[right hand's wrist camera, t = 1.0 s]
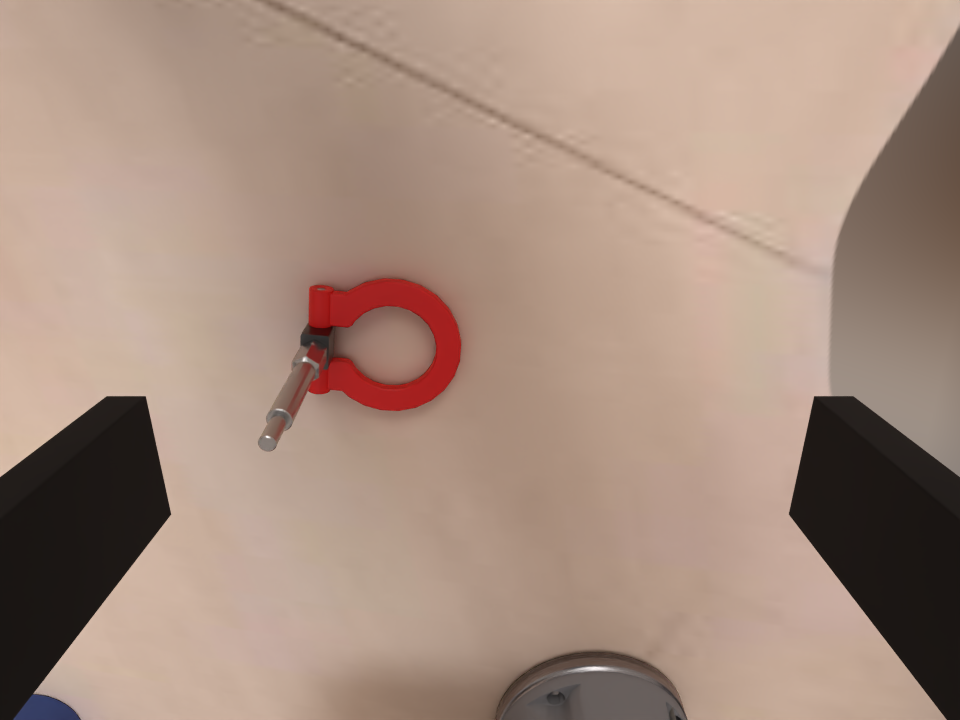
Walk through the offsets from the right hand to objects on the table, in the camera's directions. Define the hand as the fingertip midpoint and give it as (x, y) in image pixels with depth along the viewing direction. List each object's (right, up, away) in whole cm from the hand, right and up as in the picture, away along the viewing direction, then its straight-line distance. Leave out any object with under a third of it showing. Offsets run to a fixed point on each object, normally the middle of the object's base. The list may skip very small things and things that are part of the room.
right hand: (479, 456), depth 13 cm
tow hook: (-6, +3, +26) cm, 27 cm away
